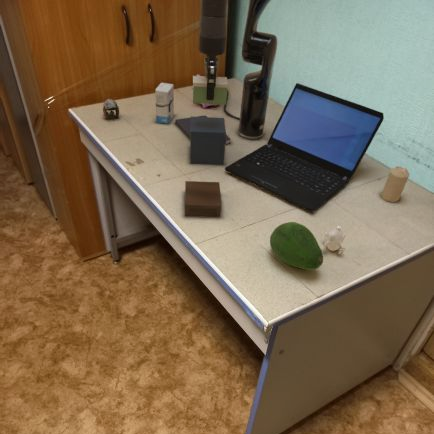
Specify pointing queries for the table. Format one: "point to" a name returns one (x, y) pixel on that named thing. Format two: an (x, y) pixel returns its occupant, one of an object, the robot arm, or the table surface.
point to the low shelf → (202, 199)
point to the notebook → (186, 126)
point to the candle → (395, 184)
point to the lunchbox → (201, 90)
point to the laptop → (311, 148)
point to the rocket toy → (334, 239)
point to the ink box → (164, 102)
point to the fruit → (296, 246)
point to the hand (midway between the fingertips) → (209, 95)
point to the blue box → (207, 140)
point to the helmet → (110, 108)
